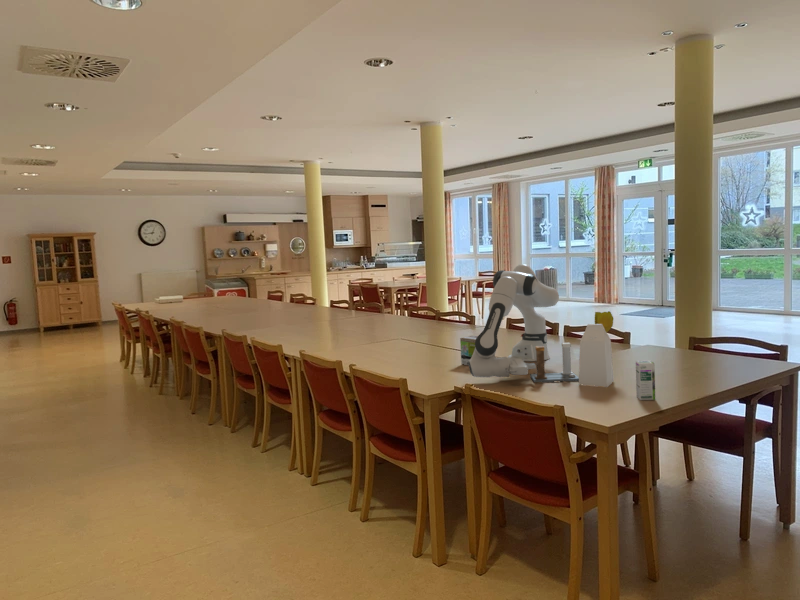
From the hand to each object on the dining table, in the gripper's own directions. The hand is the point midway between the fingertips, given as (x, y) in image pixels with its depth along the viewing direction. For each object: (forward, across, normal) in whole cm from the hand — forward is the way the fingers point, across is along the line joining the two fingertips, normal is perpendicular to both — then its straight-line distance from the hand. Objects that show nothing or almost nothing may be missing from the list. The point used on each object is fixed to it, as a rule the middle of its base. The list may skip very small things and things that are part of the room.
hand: (535, 365), depth 265 cm
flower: (+32, +5, +7) cm, 33 cm away
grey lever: (+15, +7, +6) cm, 17 cm away
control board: (+9, +3, +7) cm, 12 cm away
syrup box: (+36, -36, +7) cm, 52 cm away
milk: (+25, -8, +7) cm, 27 cm away
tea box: (-24, +42, +7) cm, 49 cm away
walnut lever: (+2, 0, +5) cm, 6 cm away
